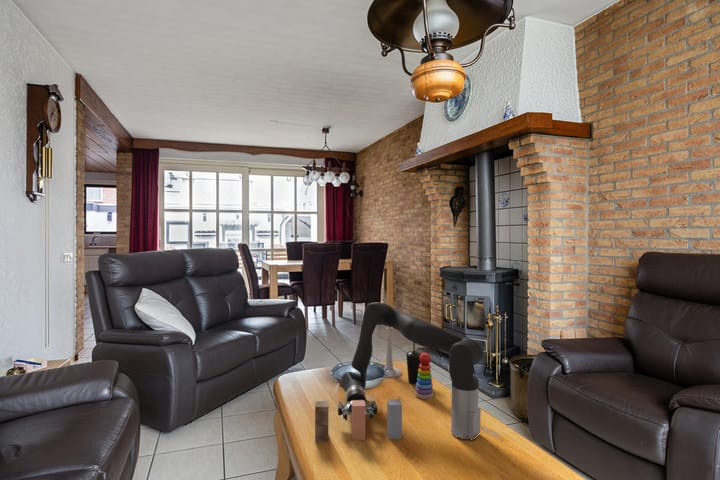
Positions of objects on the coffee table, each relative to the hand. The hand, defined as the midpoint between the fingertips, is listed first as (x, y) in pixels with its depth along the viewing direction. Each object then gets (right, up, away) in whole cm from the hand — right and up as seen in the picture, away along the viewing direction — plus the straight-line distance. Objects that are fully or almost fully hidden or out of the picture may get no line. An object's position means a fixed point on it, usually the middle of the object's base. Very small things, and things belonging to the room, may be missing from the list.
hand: (358, 417), depth 142 cm
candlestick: (+15, -5, +62) cm, 64 cm away
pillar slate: (+13, -7, +1) cm, 15 cm away
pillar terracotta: (0, -7, +1) cm, 7 cm away
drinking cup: (+26, -5, +50) cm, 57 cm away
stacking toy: (+28, -6, +35) cm, 45 cm away
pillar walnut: (-13, -7, 0) cm, 15 cm away
